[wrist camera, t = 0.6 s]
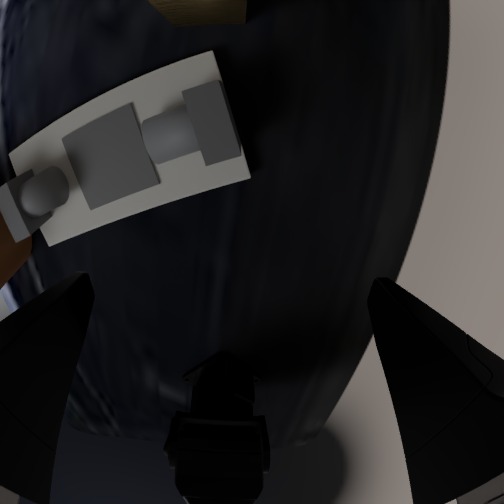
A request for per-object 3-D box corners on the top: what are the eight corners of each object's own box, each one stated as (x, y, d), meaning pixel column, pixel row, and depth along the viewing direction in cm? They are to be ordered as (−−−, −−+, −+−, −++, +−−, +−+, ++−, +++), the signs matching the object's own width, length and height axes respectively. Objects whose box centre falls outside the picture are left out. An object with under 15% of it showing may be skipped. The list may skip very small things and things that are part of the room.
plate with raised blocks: (213, 52, 16) (206, 41, 12) (250, 174, 20) (252, 194, 17) (15, 151, 18) (-18, 166, 14) (54, 241, 22) (29, 267, 18)
